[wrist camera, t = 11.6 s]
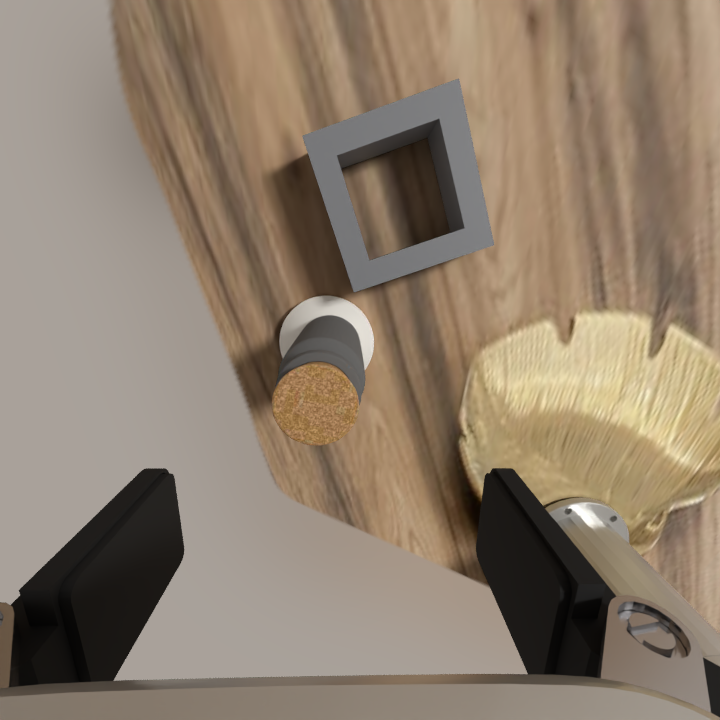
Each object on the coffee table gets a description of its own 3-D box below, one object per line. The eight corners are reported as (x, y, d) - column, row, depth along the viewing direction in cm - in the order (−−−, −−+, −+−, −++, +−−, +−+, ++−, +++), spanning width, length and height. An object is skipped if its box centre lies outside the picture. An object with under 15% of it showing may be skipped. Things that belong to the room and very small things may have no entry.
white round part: (384, 369, 35) (385, 371, 34) (300, 396, 35) (299, 399, 34) (356, 282, 32) (356, 282, 32) (266, 312, 33) (264, 314, 32)
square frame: (476, 247, 32) (494, 245, 28) (353, 289, 33) (353, 292, 29) (444, 103, 29) (458, 78, 25) (308, 152, 29) (302, 135, 26)
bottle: (341, 384, 34) (335, 471, 20) (288, 355, 33) (241, 425, 19) (372, 334, 33) (390, 388, 18) (318, 302, 32) (292, 333, 17)
